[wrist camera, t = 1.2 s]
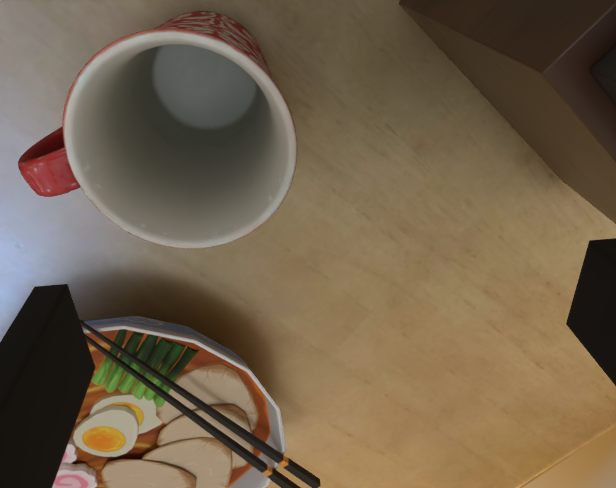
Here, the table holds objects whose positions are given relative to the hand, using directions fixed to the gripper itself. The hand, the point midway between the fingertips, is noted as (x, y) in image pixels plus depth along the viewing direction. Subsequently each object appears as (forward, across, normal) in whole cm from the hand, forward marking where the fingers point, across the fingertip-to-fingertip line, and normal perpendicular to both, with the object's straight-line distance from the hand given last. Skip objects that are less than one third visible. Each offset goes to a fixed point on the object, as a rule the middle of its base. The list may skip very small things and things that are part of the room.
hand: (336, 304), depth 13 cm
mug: (+23, -6, +1) cm, 24 cm away
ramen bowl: (+23, -13, -23) cm, 35 cm away
